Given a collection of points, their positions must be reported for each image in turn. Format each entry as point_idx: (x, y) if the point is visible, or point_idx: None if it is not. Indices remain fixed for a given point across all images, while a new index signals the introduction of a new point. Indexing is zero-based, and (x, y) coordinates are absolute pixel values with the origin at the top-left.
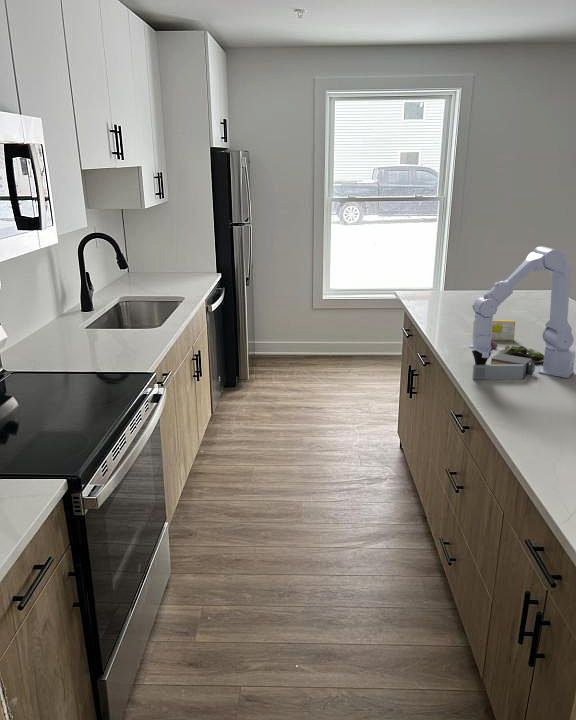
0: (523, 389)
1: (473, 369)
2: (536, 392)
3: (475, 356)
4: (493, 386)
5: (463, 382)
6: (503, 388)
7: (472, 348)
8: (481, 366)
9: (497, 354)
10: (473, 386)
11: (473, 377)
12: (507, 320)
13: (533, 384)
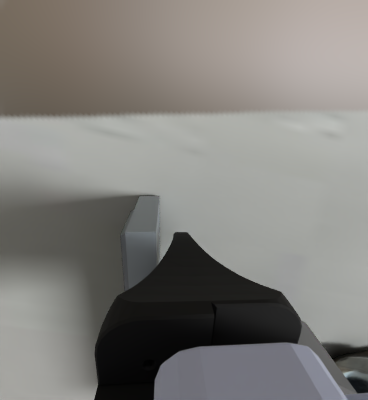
0: (30, 362)
1: (142, 216)
2: (4, 392)
3: (118, 302)
4: (46, 268)
5: (89, 130)
6: (26, 302)
7: (155, 396)
8: (129, 279)
9: (341, 387)
10: (26, 174)
11: (139, 199)
12: None
13: (95, 394)
